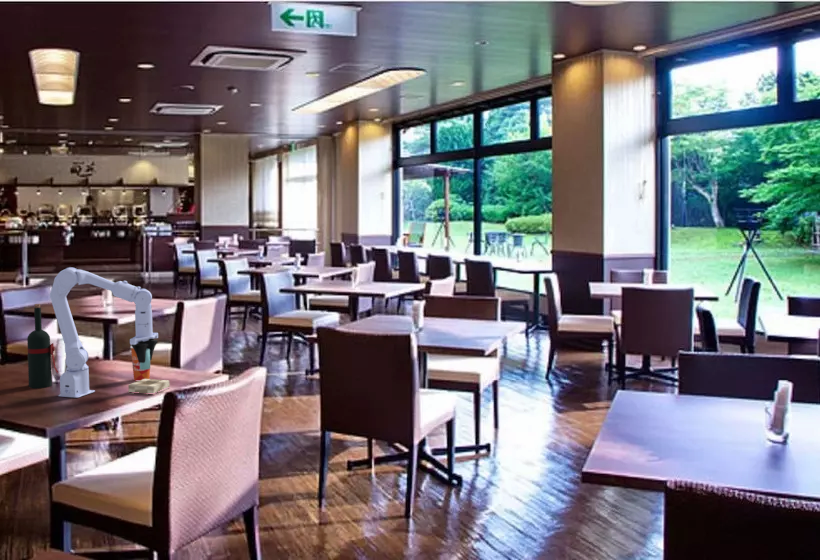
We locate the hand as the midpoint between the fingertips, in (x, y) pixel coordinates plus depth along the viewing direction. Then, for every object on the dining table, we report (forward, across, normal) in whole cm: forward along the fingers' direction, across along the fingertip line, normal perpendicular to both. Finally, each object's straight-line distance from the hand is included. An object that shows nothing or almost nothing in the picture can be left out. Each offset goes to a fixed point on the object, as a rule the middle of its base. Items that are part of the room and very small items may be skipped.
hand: (145, 361), depth 280 cm
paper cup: (+11, +15, +12) cm, 22 cm away
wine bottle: (+10, -4, +40) cm, 41 cm away
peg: (+3, 0, 0) cm, 3 cm away
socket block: (+10, 0, -1) cm, 11 cm away
